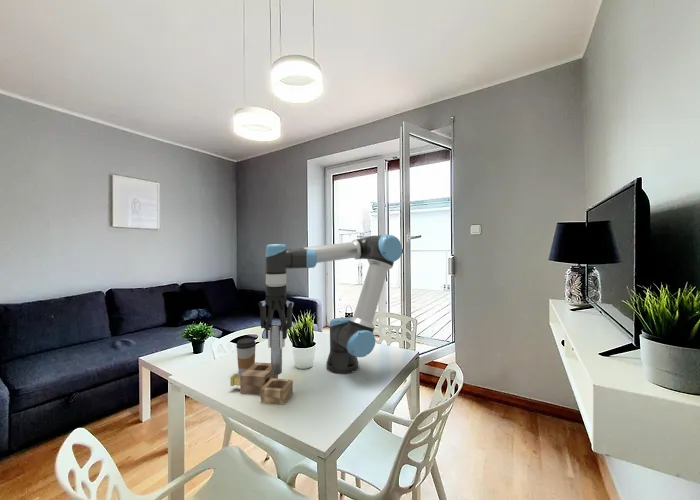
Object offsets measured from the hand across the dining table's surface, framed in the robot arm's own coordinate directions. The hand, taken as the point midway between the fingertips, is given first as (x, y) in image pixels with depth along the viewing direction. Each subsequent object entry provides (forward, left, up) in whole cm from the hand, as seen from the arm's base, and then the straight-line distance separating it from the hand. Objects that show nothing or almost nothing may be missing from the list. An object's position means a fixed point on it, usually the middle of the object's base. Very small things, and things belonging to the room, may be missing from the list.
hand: (276, 346), depth 111 cm
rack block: (0, 0, -19) cm, 19 cm away
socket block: (+10, -8, -19) cm, 23 cm away
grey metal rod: (0, 0, -10) cm, 10 cm away
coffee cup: (+22, -18, -19) cm, 34 cm away
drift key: (+13, -4, -17) cm, 22 cm away
